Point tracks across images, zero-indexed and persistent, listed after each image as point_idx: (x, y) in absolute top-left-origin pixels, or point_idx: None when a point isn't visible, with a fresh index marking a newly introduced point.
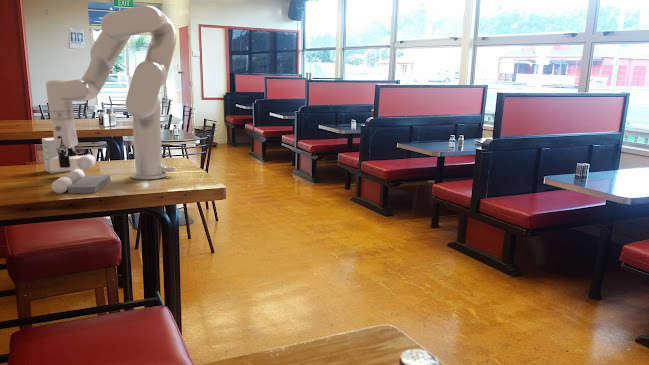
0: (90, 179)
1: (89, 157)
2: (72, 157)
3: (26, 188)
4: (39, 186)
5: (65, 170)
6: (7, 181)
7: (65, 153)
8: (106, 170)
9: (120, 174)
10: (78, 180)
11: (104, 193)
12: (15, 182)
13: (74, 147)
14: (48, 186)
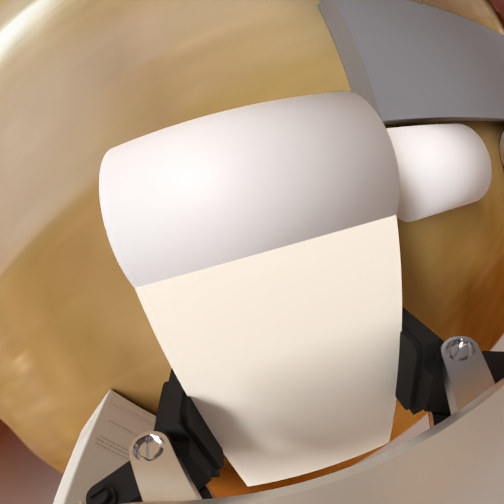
0: (450, 63)
1: (270, 121)
2: (300, 364)
3: (484, 315)
4: (468, 296)
5: (135, 408)
6: (376, 448)
7: (479, 359)
8: (20, 204)
9: (114, 37)
10: (479, 116)
11: (480, 16)
12: (395, 422)
13: (141, 488)
14: (471, 260)
